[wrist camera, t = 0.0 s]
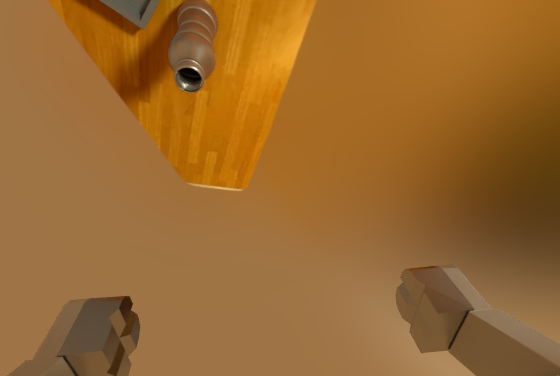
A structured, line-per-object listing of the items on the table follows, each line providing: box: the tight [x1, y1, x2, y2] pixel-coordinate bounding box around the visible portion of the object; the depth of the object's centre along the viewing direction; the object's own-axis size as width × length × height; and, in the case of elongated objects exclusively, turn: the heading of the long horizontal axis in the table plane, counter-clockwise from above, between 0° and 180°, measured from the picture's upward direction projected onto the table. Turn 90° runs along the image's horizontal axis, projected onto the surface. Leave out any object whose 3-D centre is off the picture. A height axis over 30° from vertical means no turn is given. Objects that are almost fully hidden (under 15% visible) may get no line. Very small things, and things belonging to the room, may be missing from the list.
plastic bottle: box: [167, 0, 218, 93], centre depth 44 cm, size 6×7×20 cm
